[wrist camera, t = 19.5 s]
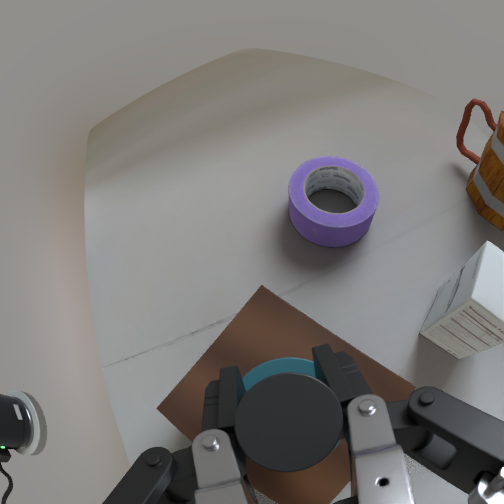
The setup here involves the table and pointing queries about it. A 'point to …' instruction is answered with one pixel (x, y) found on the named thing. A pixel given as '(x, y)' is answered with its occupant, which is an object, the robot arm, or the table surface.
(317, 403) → the teal and black cylinder
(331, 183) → the tape roll
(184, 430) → the brown wooden box
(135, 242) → the table surface
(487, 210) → the mug
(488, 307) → the white packaging box
